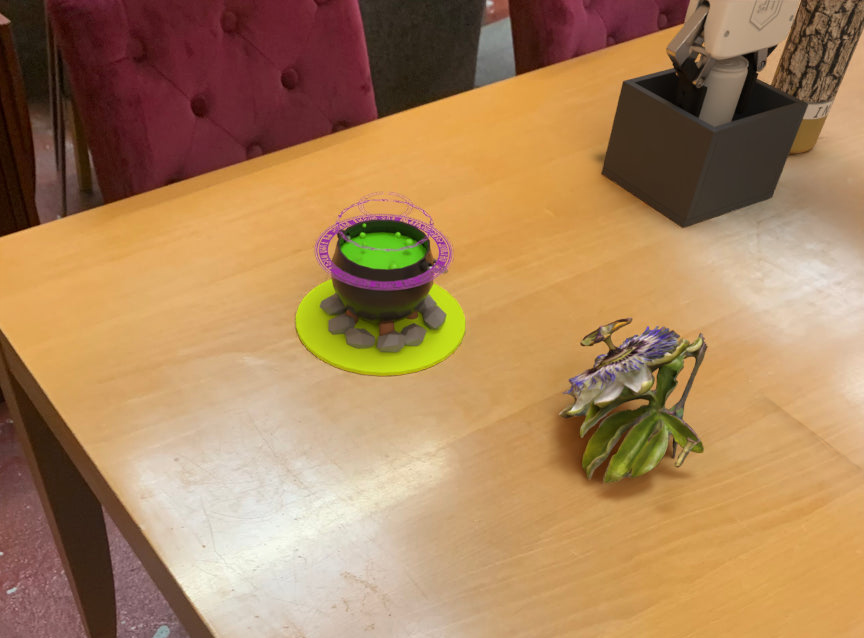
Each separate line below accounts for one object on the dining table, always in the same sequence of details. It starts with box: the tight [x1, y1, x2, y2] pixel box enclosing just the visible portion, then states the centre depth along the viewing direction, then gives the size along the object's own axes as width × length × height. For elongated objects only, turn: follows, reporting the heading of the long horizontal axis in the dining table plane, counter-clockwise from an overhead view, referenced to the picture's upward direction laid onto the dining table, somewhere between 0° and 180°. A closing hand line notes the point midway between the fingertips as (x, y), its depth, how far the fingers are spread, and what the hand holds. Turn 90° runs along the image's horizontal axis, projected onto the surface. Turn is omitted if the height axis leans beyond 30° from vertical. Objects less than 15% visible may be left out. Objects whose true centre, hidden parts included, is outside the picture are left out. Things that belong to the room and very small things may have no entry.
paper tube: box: [770, 0, 864, 155], centre depth 93 cm, size 7×7×25 cm
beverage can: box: [696, 54, 749, 127], centre depth 90 cm, size 5×5×12 cm
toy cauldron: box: [294, 191, 467, 377], centre depth 74 cm, size 15×15×11 cm
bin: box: [601, 61, 808, 228], centre depth 91 cm, size 13×13×10 cm
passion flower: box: [558, 316, 709, 485], centre depth 66 cm, size 11×11×12 cm
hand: (707, 114), depth 89 cm, fingers open, 6 cm apart
